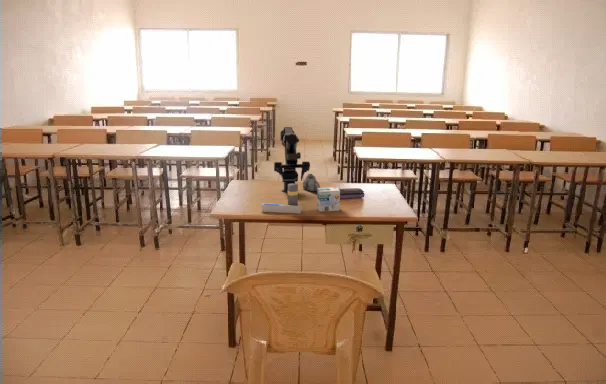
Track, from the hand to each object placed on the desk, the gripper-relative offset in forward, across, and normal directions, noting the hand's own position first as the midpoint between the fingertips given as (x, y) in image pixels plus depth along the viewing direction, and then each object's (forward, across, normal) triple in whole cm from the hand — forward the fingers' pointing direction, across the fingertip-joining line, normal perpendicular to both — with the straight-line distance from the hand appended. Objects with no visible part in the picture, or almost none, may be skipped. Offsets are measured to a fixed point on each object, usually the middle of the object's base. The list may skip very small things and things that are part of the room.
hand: (292, 180), depth 237 cm
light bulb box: (+16, +17, +2) cm, 24 cm away
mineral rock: (-7, +13, +28) cm, 31 cm away
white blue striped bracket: (+17, -6, 0) cm, 18 cm away
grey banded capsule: (+15, 0, +2) cm, 15 cm away
